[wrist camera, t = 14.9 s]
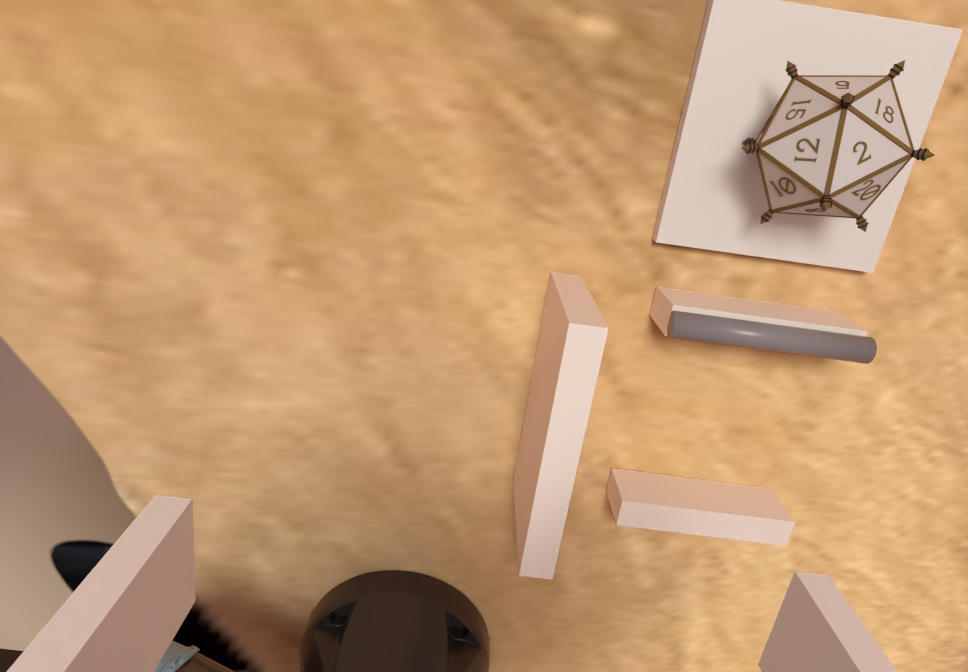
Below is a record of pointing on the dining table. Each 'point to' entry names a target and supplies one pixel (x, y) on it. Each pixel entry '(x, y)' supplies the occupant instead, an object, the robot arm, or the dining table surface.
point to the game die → (833, 145)
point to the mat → (748, 105)
